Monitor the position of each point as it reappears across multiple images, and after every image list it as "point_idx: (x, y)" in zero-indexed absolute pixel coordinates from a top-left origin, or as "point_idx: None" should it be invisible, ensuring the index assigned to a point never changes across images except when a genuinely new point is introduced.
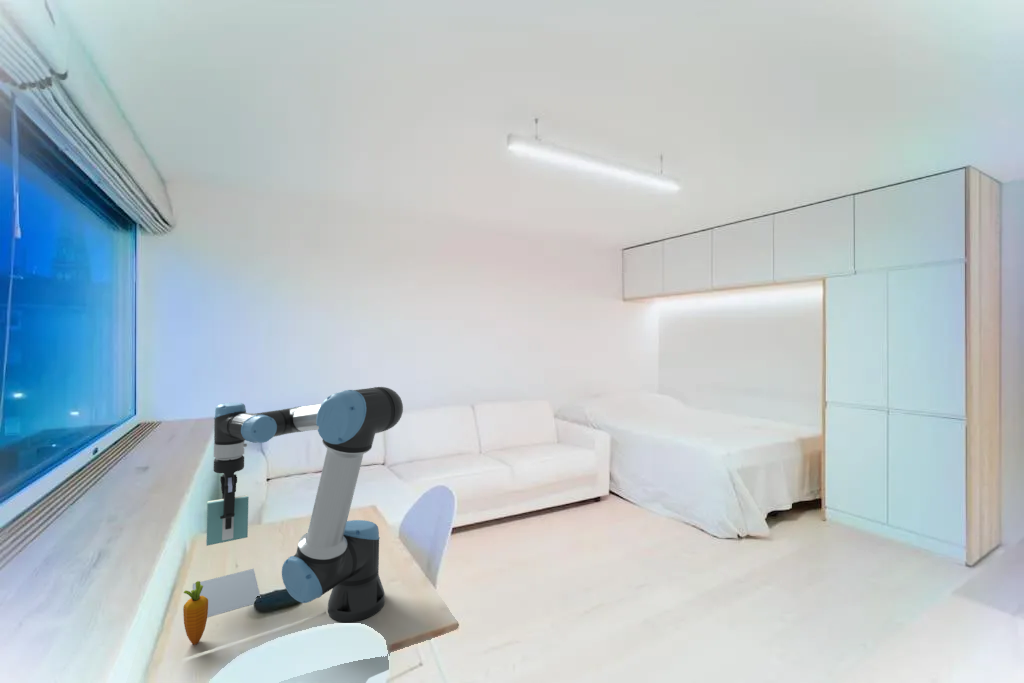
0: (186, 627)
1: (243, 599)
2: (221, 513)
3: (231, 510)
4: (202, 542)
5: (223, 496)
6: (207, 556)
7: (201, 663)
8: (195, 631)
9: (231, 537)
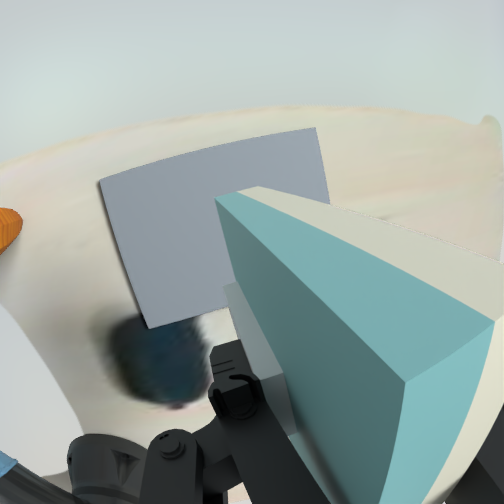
0: None
1: (172, 284)
2: (297, 392)
3: None
4: (483, 133)
5: (492, 479)
6: (438, 145)
7: None
8: None
9: (236, 332)
